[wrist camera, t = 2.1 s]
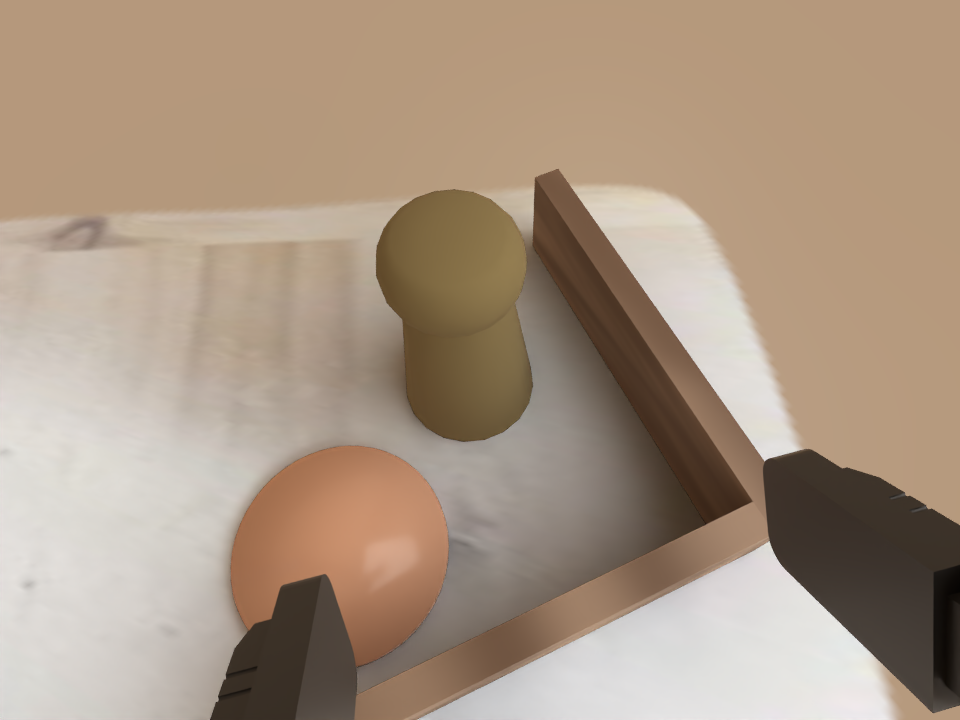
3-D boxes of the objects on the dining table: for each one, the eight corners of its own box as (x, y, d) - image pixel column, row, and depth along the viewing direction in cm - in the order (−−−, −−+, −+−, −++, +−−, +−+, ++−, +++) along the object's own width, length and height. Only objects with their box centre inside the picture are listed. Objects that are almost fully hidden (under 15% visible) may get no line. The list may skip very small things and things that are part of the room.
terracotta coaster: (265, 713, 23) (260, 713, 23) (215, 499, 28) (210, 496, 27) (483, 608, 25) (482, 606, 24) (404, 419, 29) (403, 415, 28)
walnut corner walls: (242, 807, 22) (174, 834, 18) (156, 392, 30) (95, 340, 26) (754, 549, 25) (805, 518, 21) (552, 238, 34) (558, 168, 29)
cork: (446, 466, 28) (408, 342, 18) (384, 365, 30) (322, 211, 21) (558, 399, 29) (578, 250, 19) (489, 308, 32) (477, 137, 22)
